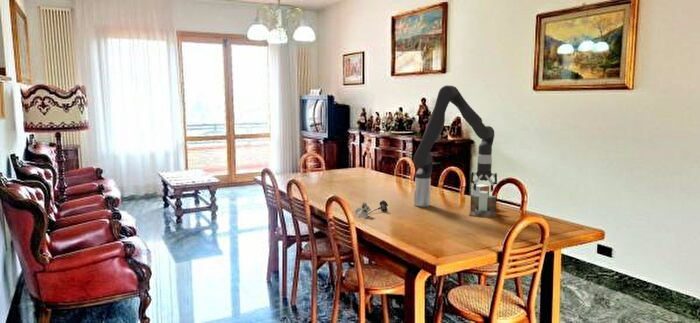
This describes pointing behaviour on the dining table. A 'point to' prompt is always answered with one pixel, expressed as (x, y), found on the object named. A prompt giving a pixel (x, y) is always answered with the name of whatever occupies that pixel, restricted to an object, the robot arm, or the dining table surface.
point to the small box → (480, 189)
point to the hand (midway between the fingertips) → (483, 191)
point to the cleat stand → (490, 207)
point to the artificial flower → (365, 209)
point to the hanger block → (483, 200)
